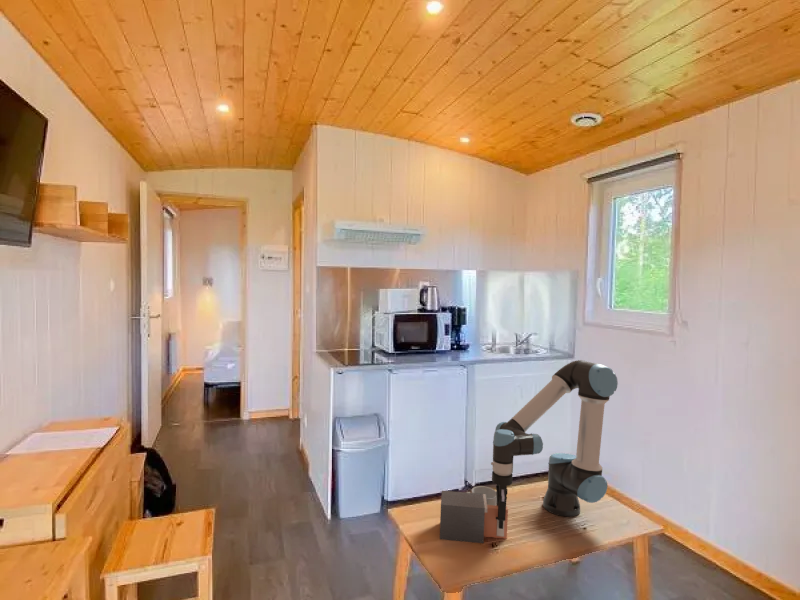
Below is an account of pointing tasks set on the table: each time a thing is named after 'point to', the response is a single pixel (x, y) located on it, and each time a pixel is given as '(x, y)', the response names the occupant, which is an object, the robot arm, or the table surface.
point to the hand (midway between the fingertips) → (499, 533)
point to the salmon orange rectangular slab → (493, 522)
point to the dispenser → (462, 516)
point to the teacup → (489, 492)
